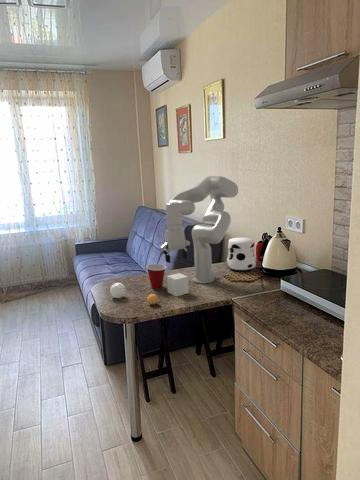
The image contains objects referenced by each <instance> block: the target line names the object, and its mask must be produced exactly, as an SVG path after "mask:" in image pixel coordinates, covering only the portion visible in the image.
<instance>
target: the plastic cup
mask: <svg viewBox="0 0 360 480" xmlns="http://www.w3.org/2000/svg"><path fill="white" fill-rule="evenodd" d="M145 266H146V267H145V268H146V270H147V275H148V277H149V282H150V287H151V288H152V290H160V289H162V288H163V286H164V285H163V283H164V277H165V272H166V270H167V265H165V264H161V263H149V264H148V265H145Z"/></svg>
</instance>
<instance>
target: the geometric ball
mask: <svg viewBox="0 0 360 480" xmlns="http://www.w3.org/2000/svg"><path fill="white" fill-rule="evenodd" d="M109 291H110V295H111V296H112V297H113V298H115V299H118V300H119V299H122V298H123V297H124V296H125V294H126V286H125V285H124V284H123V283H121V282H116V283H113V284H112V285H111V286H110V290H109Z"/></svg>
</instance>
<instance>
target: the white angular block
mask: <svg viewBox="0 0 360 480" xmlns="http://www.w3.org/2000/svg"><path fill="white" fill-rule="evenodd" d="M166 279H167V281H166V283H167V293H168V294H169V295H170V294H171V295H172V296H174V297H179V296H183V295H187V294H189V293H190V292H189V276H188V275H185V274H183V273H180V272H178V273H175V274H174V273H173V274H169V275H167V276H166Z"/></svg>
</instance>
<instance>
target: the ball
mask: <svg viewBox="0 0 360 480" xmlns="http://www.w3.org/2000/svg"><path fill="white" fill-rule="evenodd" d="M146 299H147V303H148V304H149V305H152V306H153V305H156V304H157V302H158V300H159V298H158V296H157V295H156V294H154V293H151V294H149V295H148V296H147V298H146Z"/></svg>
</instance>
